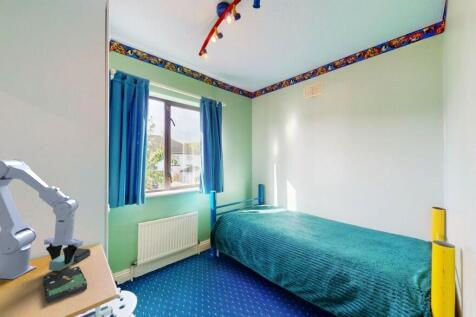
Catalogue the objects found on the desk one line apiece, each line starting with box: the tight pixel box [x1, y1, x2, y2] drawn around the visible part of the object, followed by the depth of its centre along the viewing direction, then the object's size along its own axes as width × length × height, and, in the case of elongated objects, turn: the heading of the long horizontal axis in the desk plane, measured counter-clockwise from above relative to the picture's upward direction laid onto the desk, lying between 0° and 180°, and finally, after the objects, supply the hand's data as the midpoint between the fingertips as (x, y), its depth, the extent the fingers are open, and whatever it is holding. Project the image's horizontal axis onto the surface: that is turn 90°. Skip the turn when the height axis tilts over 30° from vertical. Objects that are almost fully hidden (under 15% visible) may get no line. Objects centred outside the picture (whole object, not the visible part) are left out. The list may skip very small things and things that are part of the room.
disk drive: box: [42, 265, 88, 304], centre depth 69 cm, size 10×3×15 cm
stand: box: [61, 247, 92, 264], centre depth 87 cm, size 8×7×3 cm
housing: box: [48, 253, 74, 272], centre depth 78 cm, size 4×6×3 cm
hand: (61, 262), depth 78 cm, fingers closed on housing, 4 cm apart
